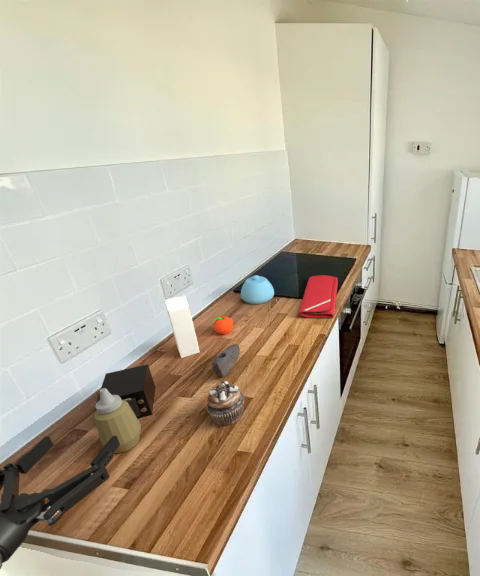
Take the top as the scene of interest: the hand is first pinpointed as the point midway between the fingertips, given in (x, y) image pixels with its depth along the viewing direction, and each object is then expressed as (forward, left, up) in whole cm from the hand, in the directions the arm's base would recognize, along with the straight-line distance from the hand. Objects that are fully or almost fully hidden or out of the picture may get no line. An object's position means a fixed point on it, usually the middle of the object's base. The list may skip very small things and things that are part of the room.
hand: (83, 440), depth 70 cm
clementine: (+30, +52, -12) cm, 61 cm away
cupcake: (+28, +7, -12) cm, 31 cm away
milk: (+18, +44, -12) cm, 49 cm away
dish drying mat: (+74, +66, -12) cm, 100 cm away
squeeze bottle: (+4, +8, -12) cm, 14 cm away
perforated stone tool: (+30, +29, -12) cm, 43 cm away
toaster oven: (+4, +22, -12) cm, 25 cm away
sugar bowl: (+47, +77, -12) cm, 90 cm away
